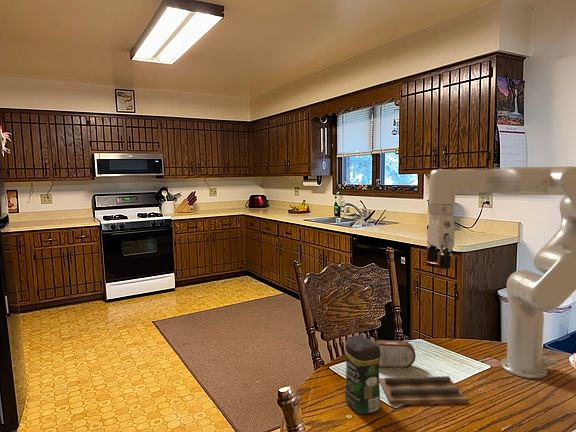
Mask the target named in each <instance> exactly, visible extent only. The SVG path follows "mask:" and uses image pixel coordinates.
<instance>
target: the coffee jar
mask: <svg viewBox="0 0 576 432" xmlns="http://www.w3.org/2000/svg"><path fill="white" fill-rule="evenodd" d="M374 342H375V341H373V340H371V339H370V338H367V337H365V336H363V335H362V334H357V335H353V336H349V337H348V338H347V339H346V340H345V348H344V351H345V352H344V354H345V365H346V367H345V369H346V370H345V373H346V374H345V391H344V392H345V395H344V397H345V402H346V404H348V406H349V407H350V409H352V410H353V411H355V412H356V413H358V414H360V415H362V414H363V415H372V414H374V413H376V412H377V411H379V410H380V409H381V392H380V391H381V390H380V389H381V388H380V383H379V378H380V367H379V362H380V357H381V355H380V347H379V346H378V345H377V344H376V343H374Z"/></svg>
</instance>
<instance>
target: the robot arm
mask: <svg viewBox="0 0 576 432" xmlns="http://www.w3.org/2000/svg"><path fill="white" fill-rule="evenodd" d="M429 174H430V175H429V187H428V207H427V214H428V215H429V216H428V217H429V218H428V224H427V234H426V235H427V236H426V238H427V241H426V242H427V247H426V248H427V250H426V252H427V253H426V261H427V262H429V263H430V262H431V263H432V262H439V263H438V268H439V269H441V270H442V269H446V270H450V268H451V263H452V262H451V261H452V260H451V259H452V253H453V248H454V247H455V218H454V216H455V207H456V206H455V204H456V193H457V194H463V195H465V194H466V195H475V194H498V195H503V196H563V197H562V198H561V200H560V201H559V208H558V209H559V213H560V219H561V223H560V227H559V228H558V230H557V231H556V233H555V234H554V235H553V236H552V237H551V238H550V240H548V241H547V242H546V244H544V246H543V247H541V249H540V250H539V251H538V252H536V254H535V256H534V258H533V265H534V268H535V269H536V270H537V271H538V272H540V273H542V274H543V275H541V274H538V273H535V272H533V271H530V270H525V269H521V270H520V269H519V270H516V271H514V272H513V273H511V274H510V275H509V276H508V278H507V281H506V294H507V295H506V296H507V301H508V302H507V303H508V315H507V316H508V319H507V321H508V322H507V324H508V325H507V344H506V345H507V347H506V357H504V358H502V359H501V360H500V362H501V363H500V364H501V365H500V366H501V367H502V368H503V369H504V370H505V372H508V373H509V374H513V375H515V376H518V377H521V378H527V379H542V378H544V377H546V376H547V375H548V369H547V367H548V365H550V366H557V365H558V360H557V358H554V357H553V358H549V357H548V356H547V355H543V345H544V343H543V340H544V322H545V317H544V312H551V311H553V310H556V309H558V308H559V307H560V306H561V305H562V304H564V303H565V301H567V300H568V299H569V297H571V295H573V294H574V292H575V291H576V166H570V165H569V166H524V167H523V166H514V167H502V168H501V167H500V168H491V169H490V168H489V169H474V168H463V169H462V168H461V169H456V170H454V169H448V168H447V169H441V168H439V169H433V170H431V172H430V173H429ZM437 248H438V249H437ZM439 250H440V251H439ZM438 252H440V254H439V253H438ZM438 254H439V261H438Z"/></svg>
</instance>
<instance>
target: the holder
mask: <svg viewBox="0 0 576 432" xmlns="http://www.w3.org/2000/svg"><path fill="white" fill-rule="evenodd" d="M379 386H380V387H381V389H382V391H383V393H384V395H386V396H385V398H386V397H387V398H386V400H387V399H388V400H387V402H388V401H389V402H388V404H389V405H390V406H392V405H391V404H406V405H435V404H436V405H438V404H439V405H441V404H442V405H443V404H467V403H468V402H467V401H468V399H467V397H466V396H465V395H464V393H463V392H462V391H461V390H460V387H458V386H457V385H456V384H455V383H454V382H453V381H452V379H451V377H450V376H449V375H447V376H446V375H445V376H407V377H406V376H402V377H399V376H397V377H384V378H383V377H382V378H380V377H379Z"/></svg>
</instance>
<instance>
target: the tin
mask: <svg viewBox="0 0 576 432" xmlns="http://www.w3.org/2000/svg"><path fill="white" fill-rule="evenodd" d="M373 342H374V343H376V344H377V345H378V346H379V347H380V355H381V357H380V362H379V368H395V367H397V368H398V369H400V368H401V367H402V368H401V369H403V368H405V369H406V368H408V367H411V366H412V365H414V363H415V361H416V352H415V348H414V346H413V345H412V344H411V343H410V342H408V341H405V340H387V339H385V340H384V339H379V340H375V341H373ZM399 367H400V368H399Z"/></svg>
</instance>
